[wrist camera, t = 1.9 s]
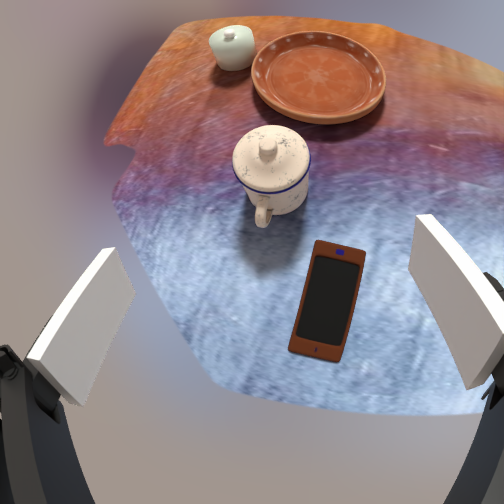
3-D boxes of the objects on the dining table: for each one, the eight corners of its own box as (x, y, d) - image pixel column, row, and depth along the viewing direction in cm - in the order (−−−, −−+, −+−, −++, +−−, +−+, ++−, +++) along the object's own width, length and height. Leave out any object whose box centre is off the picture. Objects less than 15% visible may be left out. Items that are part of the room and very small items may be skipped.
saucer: (404, 119, 39) (410, 106, 36) (272, 144, 42) (269, 131, 39) (351, 38, 45) (352, 26, 41) (243, 56, 47) (239, 43, 44)
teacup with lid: (254, 155, 42) (237, 107, 31) (314, 164, 40) (316, 116, 29) (233, 230, 40) (207, 201, 29) (298, 244, 38) (297, 216, 27)
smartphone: (367, 250, 36) (340, 363, 34) (365, 251, 37) (339, 362, 35) (315, 238, 38) (286, 351, 35) (315, 240, 39) (287, 350, 36)
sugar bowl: (255, 43, 47) (249, 17, 40) (259, 67, 46) (252, 39, 39) (217, 50, 49) (207, 26, 42) (217, 74, 47) (206, 48, 40)
